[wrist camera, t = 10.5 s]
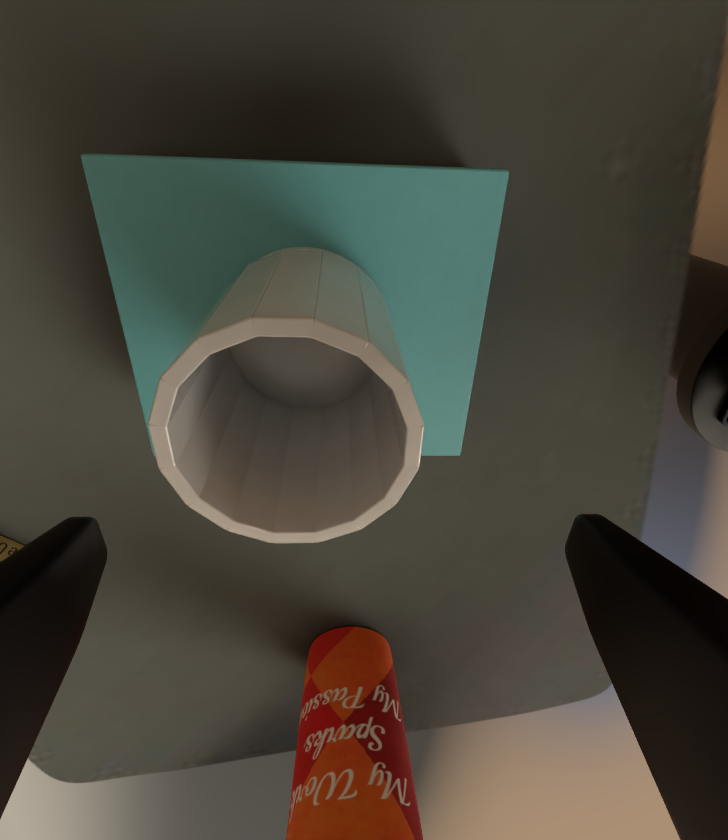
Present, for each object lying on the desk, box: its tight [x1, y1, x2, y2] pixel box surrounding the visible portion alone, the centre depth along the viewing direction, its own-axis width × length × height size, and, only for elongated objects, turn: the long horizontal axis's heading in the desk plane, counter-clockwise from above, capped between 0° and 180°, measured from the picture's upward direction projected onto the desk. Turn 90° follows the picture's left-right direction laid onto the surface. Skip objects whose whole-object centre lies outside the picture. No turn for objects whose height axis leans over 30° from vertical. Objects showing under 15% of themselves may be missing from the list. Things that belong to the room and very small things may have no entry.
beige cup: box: [148, 247, 424, 543], centre depth 13 cm, size 6×6×7 cm
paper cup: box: [286, 627, 423, 840], centre depth 26 cm, size 8×8×14 cm
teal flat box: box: [81, 153, 509, 456], centre depth 18 cm, size 13×11×3 cm
